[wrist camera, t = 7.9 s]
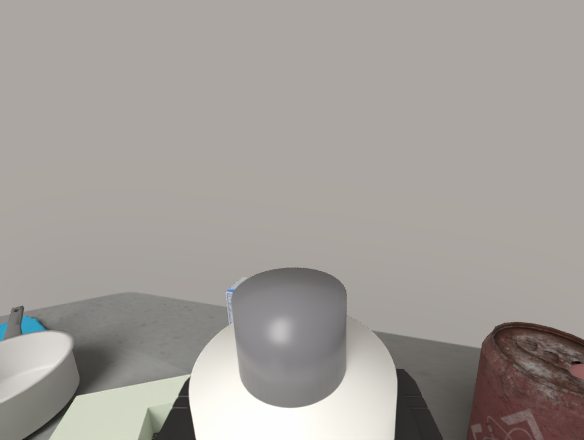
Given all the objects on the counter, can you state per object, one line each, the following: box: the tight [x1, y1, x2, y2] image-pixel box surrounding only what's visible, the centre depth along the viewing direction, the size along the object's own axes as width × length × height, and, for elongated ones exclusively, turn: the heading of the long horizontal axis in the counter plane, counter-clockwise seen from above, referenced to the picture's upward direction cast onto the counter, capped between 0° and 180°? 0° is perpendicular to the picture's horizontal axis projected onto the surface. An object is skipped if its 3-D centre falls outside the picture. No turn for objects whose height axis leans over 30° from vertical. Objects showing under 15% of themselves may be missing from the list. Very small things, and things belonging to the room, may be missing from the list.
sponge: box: [0, 316, 47, 341], centre depth 39 cm, size 2×12×6 cm
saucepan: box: [0, 306, 80, 440], centre depth 30 cm, size 12×20×6 cm, turn 40°
